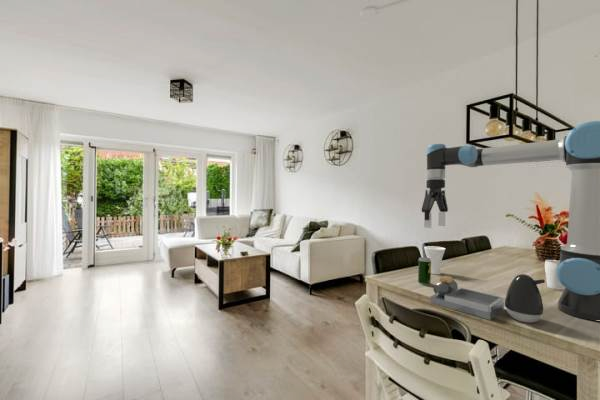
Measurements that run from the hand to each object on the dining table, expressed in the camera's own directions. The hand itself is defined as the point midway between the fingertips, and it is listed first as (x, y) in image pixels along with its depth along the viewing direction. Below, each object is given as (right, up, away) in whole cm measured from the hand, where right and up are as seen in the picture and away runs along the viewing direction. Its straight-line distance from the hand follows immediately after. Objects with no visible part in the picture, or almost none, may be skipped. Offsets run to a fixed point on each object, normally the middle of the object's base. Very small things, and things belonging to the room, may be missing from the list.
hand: (435, 226), depth 129 cm
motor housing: (+2, -28, -21) cm, 35 cm away
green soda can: (-2, -27, +6) cm, 28 cm away
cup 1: (+11, -27, +25) cm, 39 cm away
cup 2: (+56, -28, +2) cm, 63 cm away
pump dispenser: (+14, -28, -33) cm, 46 cm away
